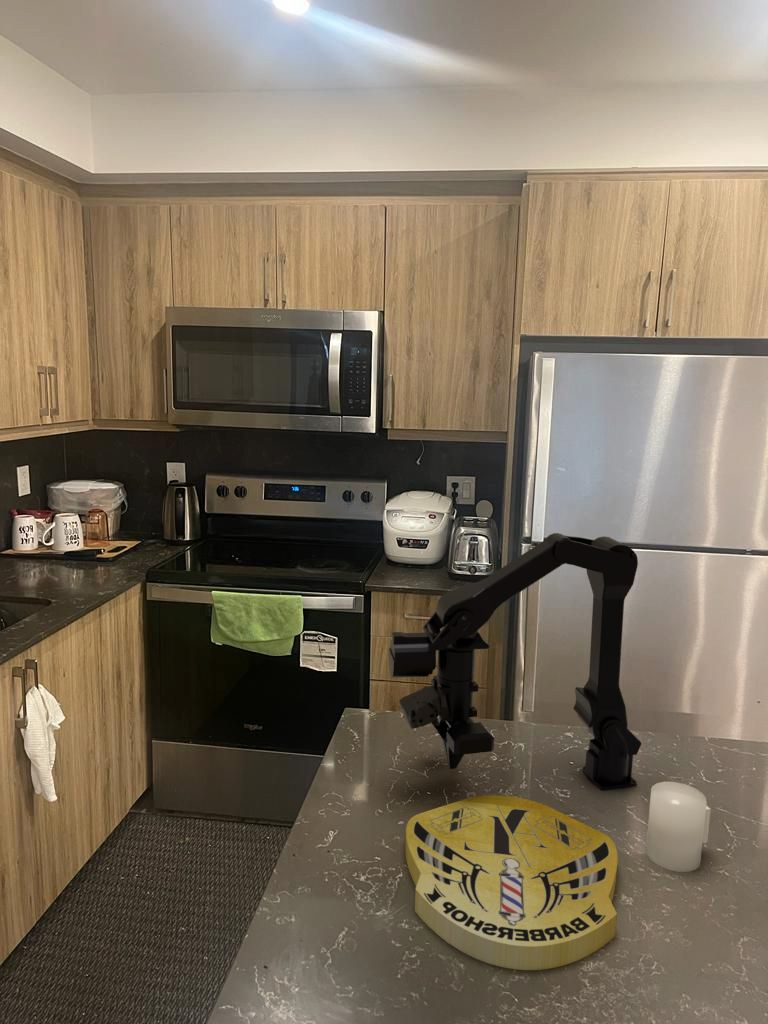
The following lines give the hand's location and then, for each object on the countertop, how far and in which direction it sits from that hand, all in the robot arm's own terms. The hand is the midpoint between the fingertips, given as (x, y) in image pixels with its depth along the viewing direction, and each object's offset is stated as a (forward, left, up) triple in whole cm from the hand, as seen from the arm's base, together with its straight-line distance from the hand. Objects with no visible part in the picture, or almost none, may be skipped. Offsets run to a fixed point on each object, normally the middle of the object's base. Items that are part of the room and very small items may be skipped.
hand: (452, 767), depth 118 cm
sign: (0, +23, -4) cm, 23 cm away
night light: (-24, +23, -3) cm, 33 cm away
